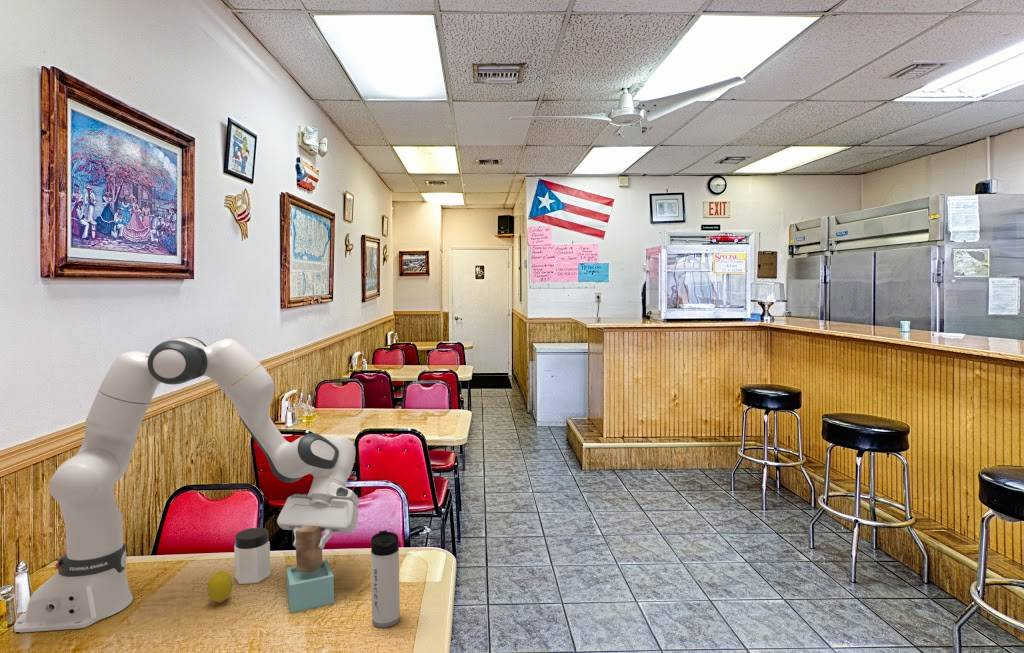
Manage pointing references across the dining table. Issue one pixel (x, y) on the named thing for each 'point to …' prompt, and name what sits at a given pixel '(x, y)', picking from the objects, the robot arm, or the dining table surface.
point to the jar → (252, 555)
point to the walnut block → (308, 548)
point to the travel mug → (385, 579)
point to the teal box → (310, 588)
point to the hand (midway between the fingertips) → (307, 547)
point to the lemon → (219, 586)
